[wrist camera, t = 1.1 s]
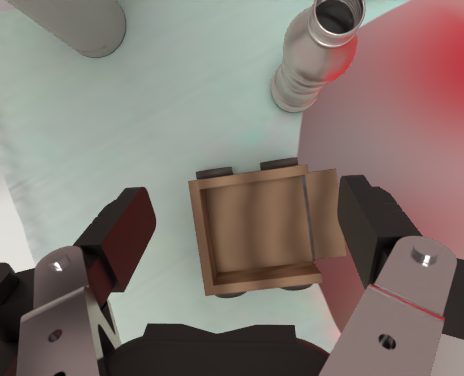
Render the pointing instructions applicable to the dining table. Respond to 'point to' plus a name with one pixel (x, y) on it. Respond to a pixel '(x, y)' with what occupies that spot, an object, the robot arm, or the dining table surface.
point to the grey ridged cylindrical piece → (316, 51)
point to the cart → (265, 227)
